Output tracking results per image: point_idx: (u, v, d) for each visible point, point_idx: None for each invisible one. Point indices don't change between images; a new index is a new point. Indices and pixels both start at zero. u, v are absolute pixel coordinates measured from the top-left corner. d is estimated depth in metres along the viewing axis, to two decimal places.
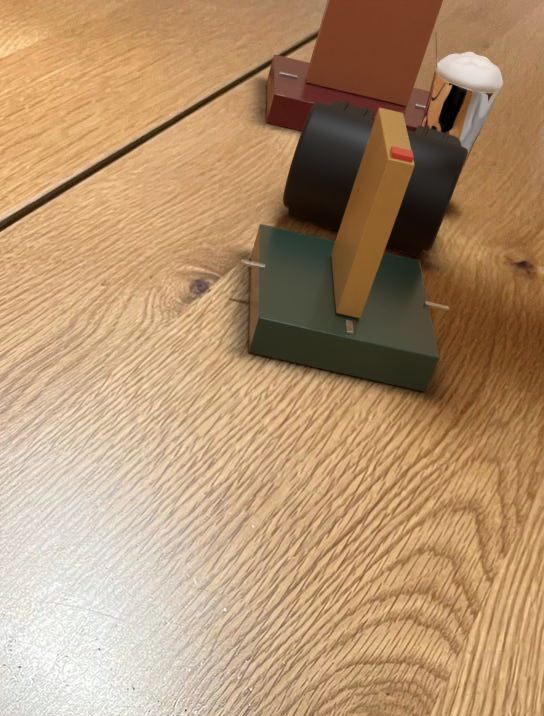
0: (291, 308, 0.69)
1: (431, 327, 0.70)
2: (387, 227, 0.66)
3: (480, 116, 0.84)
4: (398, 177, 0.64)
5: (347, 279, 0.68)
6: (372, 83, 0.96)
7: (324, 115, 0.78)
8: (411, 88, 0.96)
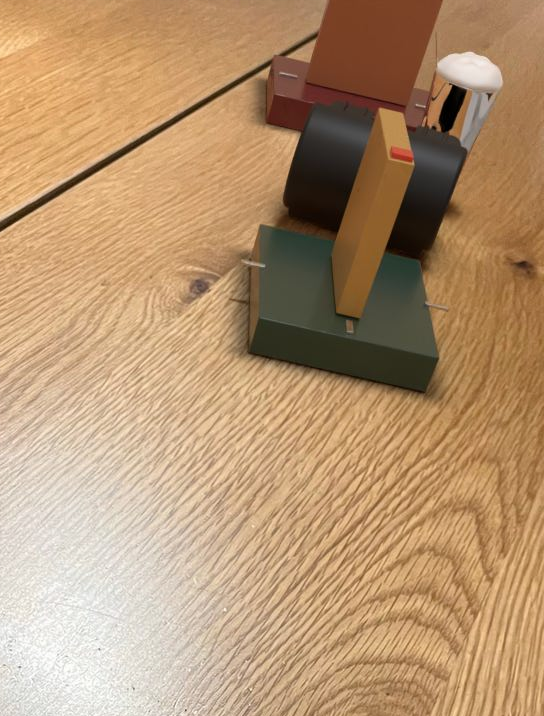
0: (291, 308, 0.69)
1: (431, 327, 0.70)
2: (387, 227, 0.66)
3: (480, 116, 0.84)
4: (398, 177, 0.64)
5: (347, 279, 0.68)
6: (372, 83, 0.96)
7: (324, 115, 0.78)
8: (411, 88, 0.96)
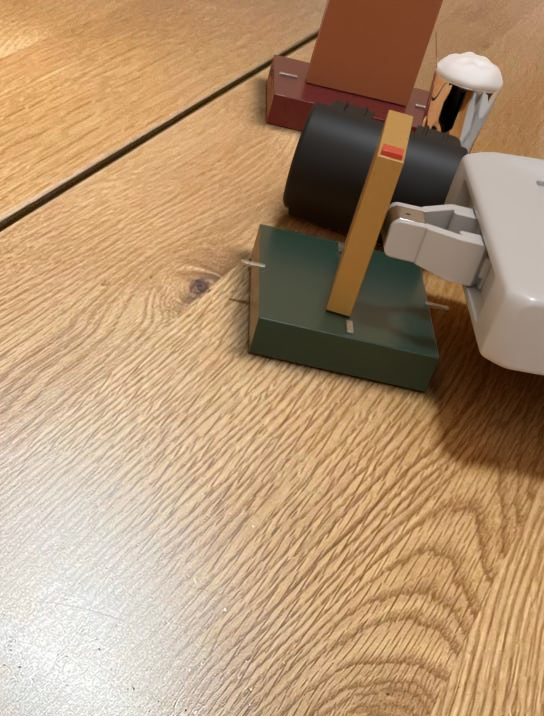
0: (291, 308, 0.69)
1: (431, 327, 0.70)
2: (376, 225, 0.66)
3: (480, 116, 0.84)
4: (387, 174, 0.64)
5: (337, 276, 0.68)
6: (372, 83, 0.96)
7: (324, 115, 0.78)
8: (411, 88, 0.96)
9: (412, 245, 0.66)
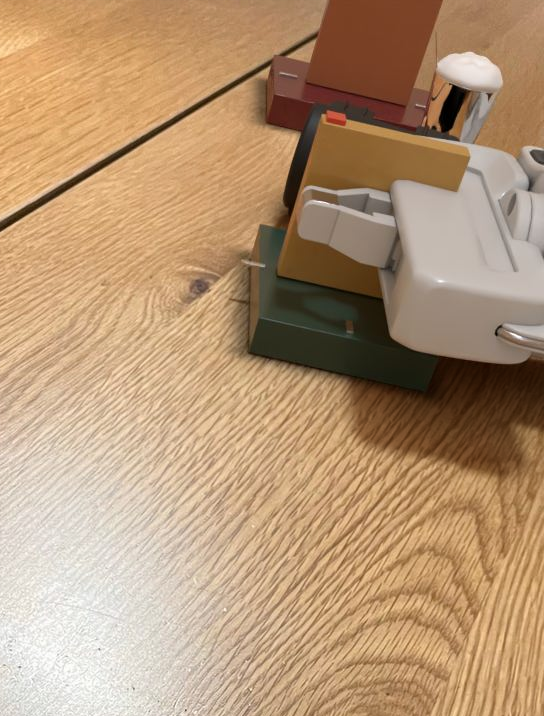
0: (291, 308, 0.69)
1: None
2: (304, 184, 0.68)
3: (480, 116, 0.84)
4: (317, 133, 0.66)
5: (287, 233, 0.71)
6: (372, 83, 0.96)
7: None
8: (411, 88, 0.96)
9: (325, 227, 0.66)
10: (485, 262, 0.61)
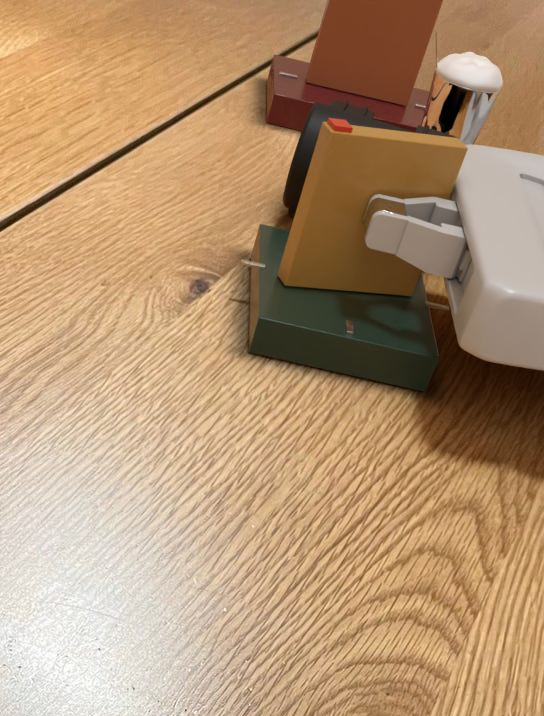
0: (291, 308, 0.69)
1: (431, 327, 0.70)
2: (310, 193, 0.67)
3: (480, 116, 0.84)
4: (323, 142, 0.65)
5: None
6: (372, 83, 0.96)
7: (324, 115, 0.78)
8: (411, 88, 0.96)
9: (393, 237, 0.66)
10: None
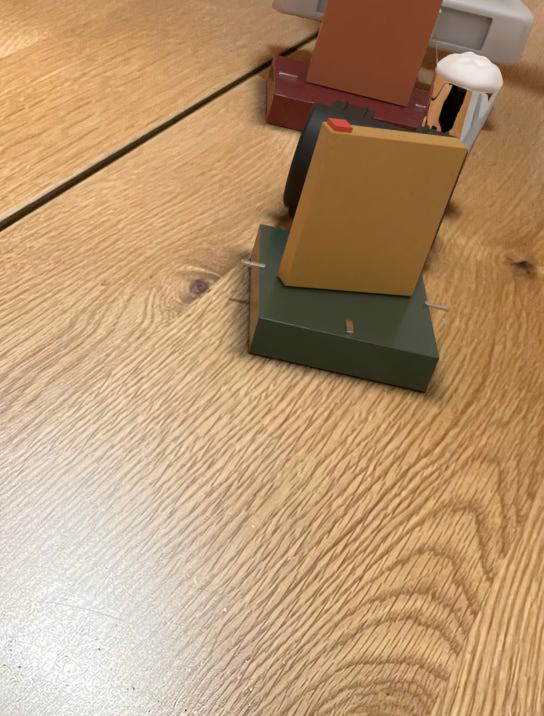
0: (291, 308, 0.69)
1: (431, 327, 0.70)
2: (310, 193, 0.67)
3: (480, 116, 0.84)
4: (323, 142, 0.65)
5: None
6: (372, 83, 0.96)
7: (324, 115, 0.78)
8: (411, 89, 0.96)
9: None
10: None
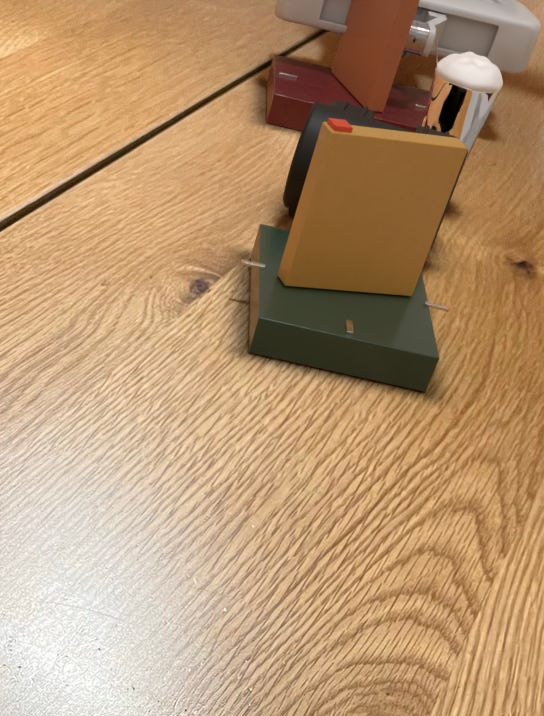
0: (291, 308, 0.69)
1: (431, 327, 0.70)
2: (310, 193, 0.67)
3: (480, 116, 0.84)
4: (323, 142, 0.65)
5: None
6: (356, 81, 0.96)
7: (324, 115, 0.78)
8: (371, 91, 0.94)
9: None
10: (494, 2, 0.98)
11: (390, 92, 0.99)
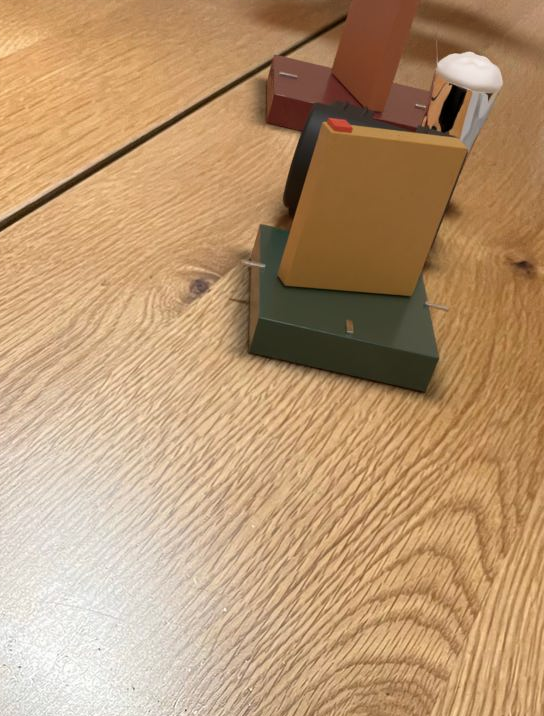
0: (291, 308, 0.69)
1: (431, 327, 0.70)
2: (310, 193, 0.67)
3: (480, 116, 0.84)
4: (323, 142, 0.65)
5: None
6: (356, 81, 0.96)
7: (324, 115, 0.78)
8: (371, 91, 0.94)
9: None
10: None
11: (390, 92, 0.99)
